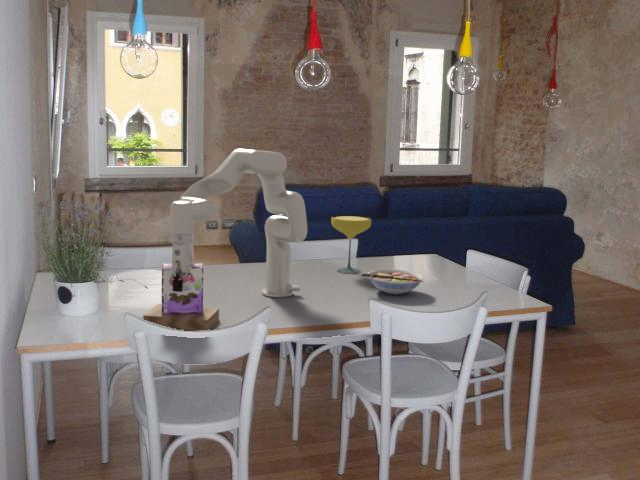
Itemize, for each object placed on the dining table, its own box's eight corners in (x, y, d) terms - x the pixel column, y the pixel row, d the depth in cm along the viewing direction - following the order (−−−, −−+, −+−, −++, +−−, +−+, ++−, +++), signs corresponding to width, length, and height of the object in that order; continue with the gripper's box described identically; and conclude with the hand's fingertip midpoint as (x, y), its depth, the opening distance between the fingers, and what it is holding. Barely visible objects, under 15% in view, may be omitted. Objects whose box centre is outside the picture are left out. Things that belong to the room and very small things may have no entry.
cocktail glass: (321, 269, 327) (323, 216, 322) (349, 264, 339) (351, 213, 334) (348, 277, 314) (351, 222, 309) (376, 272, 326) (379, 218, 321)
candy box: (161, 314, 237) (161, 266, 234) (161, 309, 243) (161, 262, 240) (203, 313, 240) (203, 266, 237) (202, 308, 246) (203, 262, 242)
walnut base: (218, 319, 247) (219, 308, 247) (207, 332, 234) (207, 320, 233) (158, 314, 250) (158, 303, 249) (143, 326, 237) (143, 315, 236)
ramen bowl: (427, 289, 300) (429, 270, 298) (420, 303, 278) (421, 283, 277) (370, 282, 306) (371, 264, 305) (358, 296, 285) (359, 276, 283)
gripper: (184, 243, 227) (184, 295, 231) (200, 233, 244) (200, 281, 248) (162, 242, 228) (162, 293, 232) (180, 232, 245) (180, 280, 249)
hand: (182, 287), depth 240 cm, fingers open, 9 cm apart
